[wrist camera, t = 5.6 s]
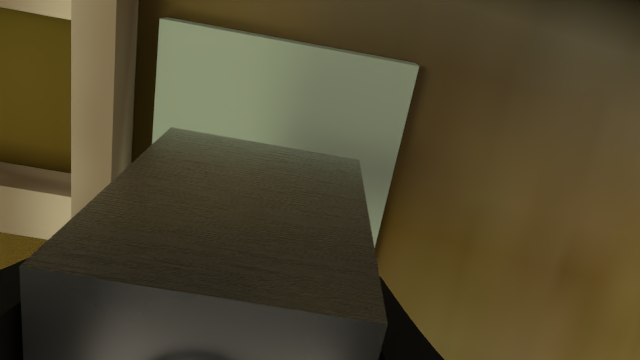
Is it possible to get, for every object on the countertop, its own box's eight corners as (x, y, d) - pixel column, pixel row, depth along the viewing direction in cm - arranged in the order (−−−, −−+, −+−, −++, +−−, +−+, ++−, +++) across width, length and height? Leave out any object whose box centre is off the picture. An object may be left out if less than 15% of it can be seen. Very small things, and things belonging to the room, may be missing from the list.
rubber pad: (152, 240, 21) (145, 249, 20) (166, 16, 18) (159, 18, 17) (364, 274, 22) (365, 285, 21) (415, 62, 18) (419, 66, 18)
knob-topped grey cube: (159, 288, 15) (16, 546, 8) (171, 127, 13) (1, 282, 6) (325, 314, 15) (323, 586, 8) (359, 159, 14) (390, 344, 7)
